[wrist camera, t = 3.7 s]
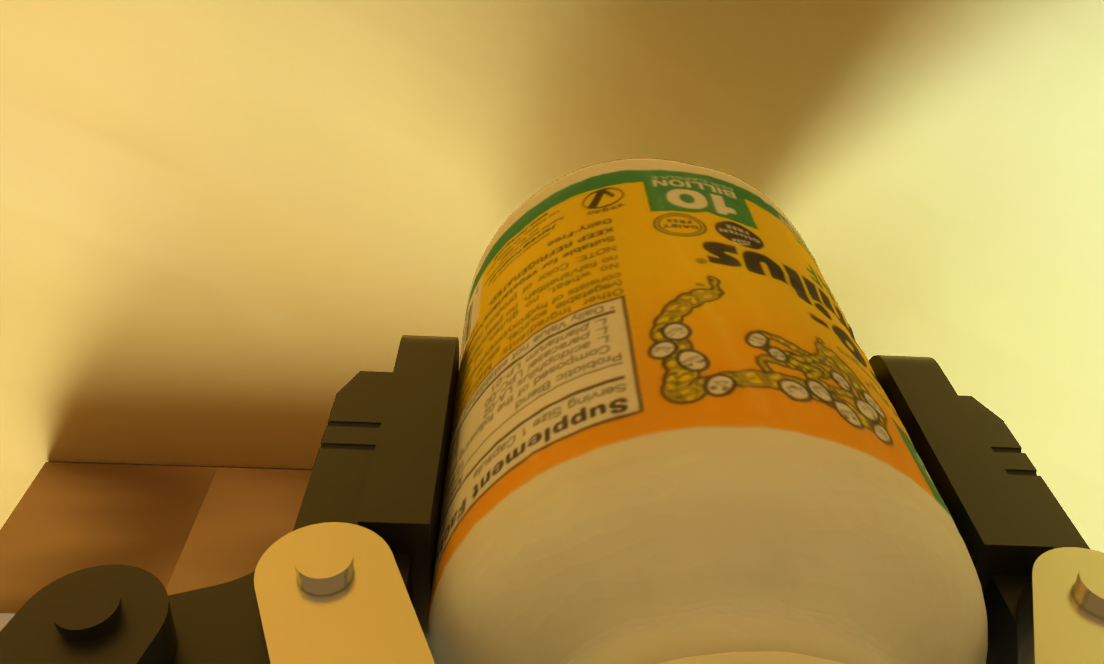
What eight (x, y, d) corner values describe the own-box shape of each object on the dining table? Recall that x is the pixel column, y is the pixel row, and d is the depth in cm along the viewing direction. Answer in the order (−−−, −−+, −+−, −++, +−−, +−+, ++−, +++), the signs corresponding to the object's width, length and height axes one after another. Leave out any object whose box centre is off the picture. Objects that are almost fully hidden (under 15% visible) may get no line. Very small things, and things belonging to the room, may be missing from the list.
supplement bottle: (398, 291, 15) (217, 967, 7) (678, 67, 13) (903, 614, 5) (613, 492, 17) (679, 1190, 9) (878, 325, 15) (1271, 1006, 7)
